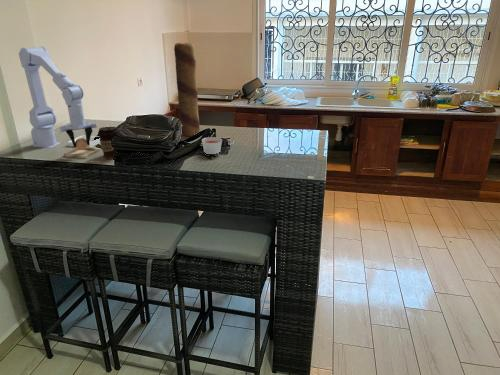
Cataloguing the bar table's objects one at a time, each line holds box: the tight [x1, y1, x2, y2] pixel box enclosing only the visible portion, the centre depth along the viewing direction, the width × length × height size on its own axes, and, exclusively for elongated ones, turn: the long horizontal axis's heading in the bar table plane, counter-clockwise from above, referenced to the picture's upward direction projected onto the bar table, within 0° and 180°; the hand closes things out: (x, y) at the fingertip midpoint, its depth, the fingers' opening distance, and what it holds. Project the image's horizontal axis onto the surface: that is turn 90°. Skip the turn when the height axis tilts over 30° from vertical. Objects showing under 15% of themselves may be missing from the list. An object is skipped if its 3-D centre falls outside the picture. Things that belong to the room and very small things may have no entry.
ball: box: [75, 138, 87, 150], centre depth 171 cm, size 5×5×5 cm
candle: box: [201, 136, 223, 155], centre depth 176 cm, size 9×9×6 cm
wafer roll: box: [173, 42, 201, 137], centre depth 196 cm, size 10×11×45 cm
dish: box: [67, 134, 100, 148], centre depth 186 cm, size 11×11×2 cm
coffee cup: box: [97, 126, 120, 160], centre depth 168 cm, size 9×8×13 cm
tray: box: [63, 147, 102, 159], centre depth 173 cm, size 11×11×2 cm
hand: (81, 145), depth 171 cm, fingers closed on ball, 5 cm apart
